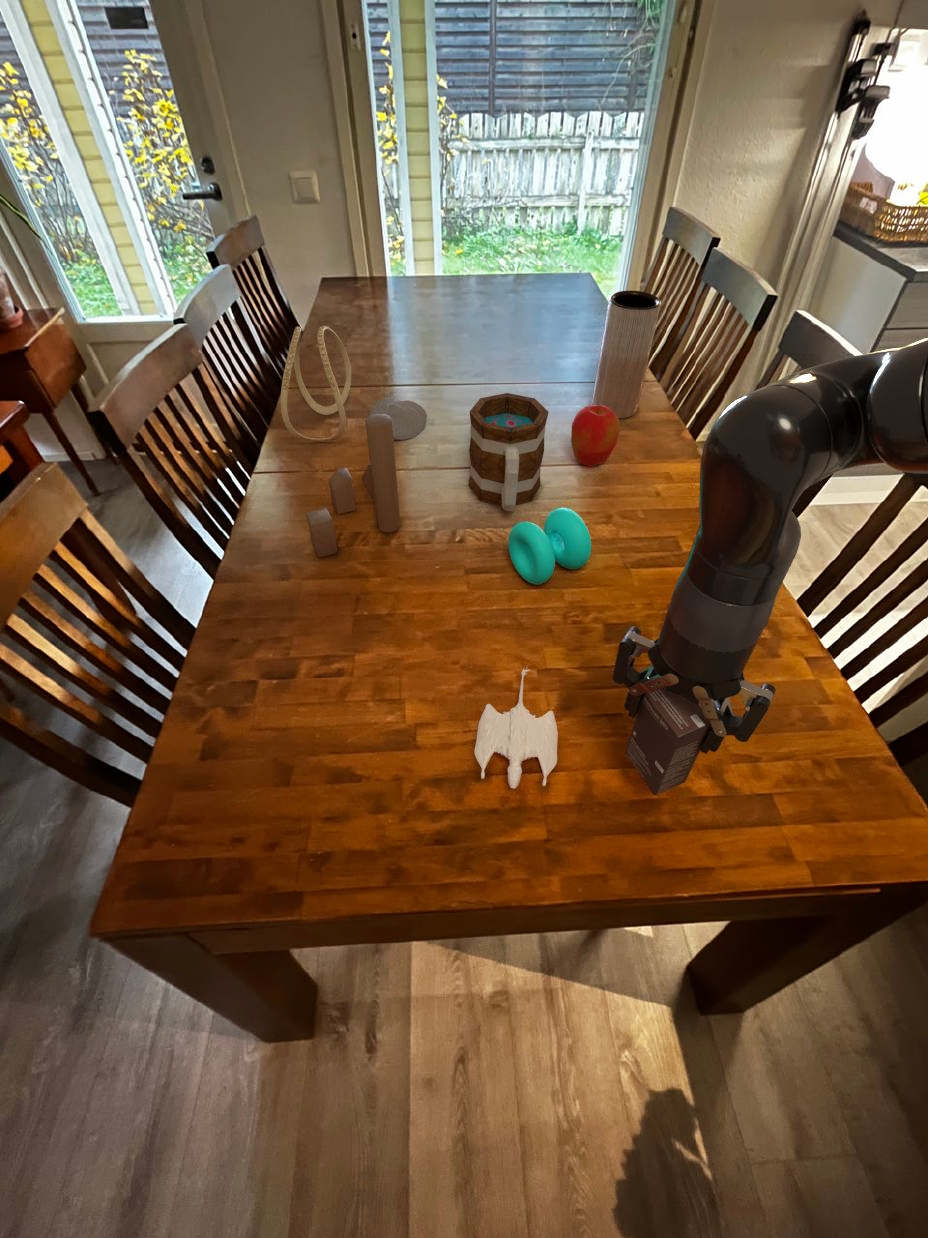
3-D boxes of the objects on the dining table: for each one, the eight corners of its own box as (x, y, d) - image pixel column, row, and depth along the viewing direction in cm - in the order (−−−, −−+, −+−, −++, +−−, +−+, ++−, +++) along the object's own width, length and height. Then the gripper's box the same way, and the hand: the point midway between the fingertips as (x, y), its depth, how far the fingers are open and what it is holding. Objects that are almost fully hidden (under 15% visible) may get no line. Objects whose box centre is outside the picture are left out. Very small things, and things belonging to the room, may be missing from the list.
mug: (468, 465, 122) (469, 392, 111) (537, 466, 122) (544, 392, 111) (469, 528, 108) (470, 452, 98) (547, 528, 108) (556, 452, 98)
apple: (590, 480, 119) (600, 422, 110) (556, 460, 124) (564, 403, 115) (622, 463, 123) (635, 406, 114) (589, 444, 128) (598, 388, 119)
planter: (584, 399, 141) (601, 291, 125) (625, 395, 143) (647, 288, 126) (601, 421, 134) (621, 310, 118) (644, 416, 136) (670, 306, 120)
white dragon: (484, 676, 86) (485, 657, 83) (559, 684, 85) (563, 665, 82) (468, 796, 73) (468, 778, 70) (555, 806, 72) (559, 789, 69)
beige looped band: (350, 453, 125) (336, 353, 110) (290, 456, 124) (268, 355, 110) (355, 402, 140) (343, 307, 125) (301, 403, 139) (283, 309, 124)
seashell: (377, 414, 136) (361, 431, 128) (380, 389, 132) (364, 404, 124) (428, 429, 135) (415, 447, 127) (432, 404, 132) (419, 420, 124)
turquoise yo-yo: (589, 577, 100) (600, 527, 93) (538, 599, 96) (545, 549, 89) (552, 542, 106) (559, 493, 99) (503, 562, 102) (506, 512, 95)
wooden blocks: (379, 474, 120) (368, 372, 105) (414, 533, 107) (408, 427, 93) (291, 494, 115) (267, 390, 101) (317, 558, 103) (295, 450, 88)
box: (621, 754, 71) (642, 689, 62) (654, 741, 72) (679, 675, 63) (652, 799, 67) (679, 736, 58) (687, 785, 68) (718, 720, 59)
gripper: (616, 608, 53) (589, 722, 64) (793, 682, 47) (728, 792, 59) (650, 560, 57) (619, 674, 69) (816, 622, 51) (751, 735, 63)
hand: (669, 728), depth 64 cm, fingers closed on box, 7 cm apart
